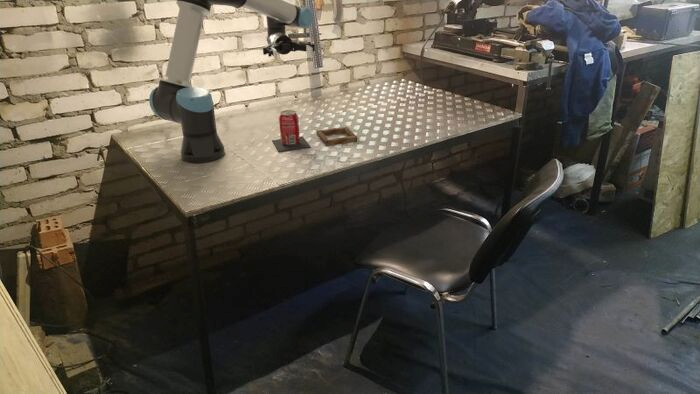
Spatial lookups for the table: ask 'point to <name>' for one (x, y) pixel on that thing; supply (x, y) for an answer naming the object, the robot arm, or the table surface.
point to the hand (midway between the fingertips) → (294, 53)
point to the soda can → (289, 127)
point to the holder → (336, 141)
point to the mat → (300, 145)
